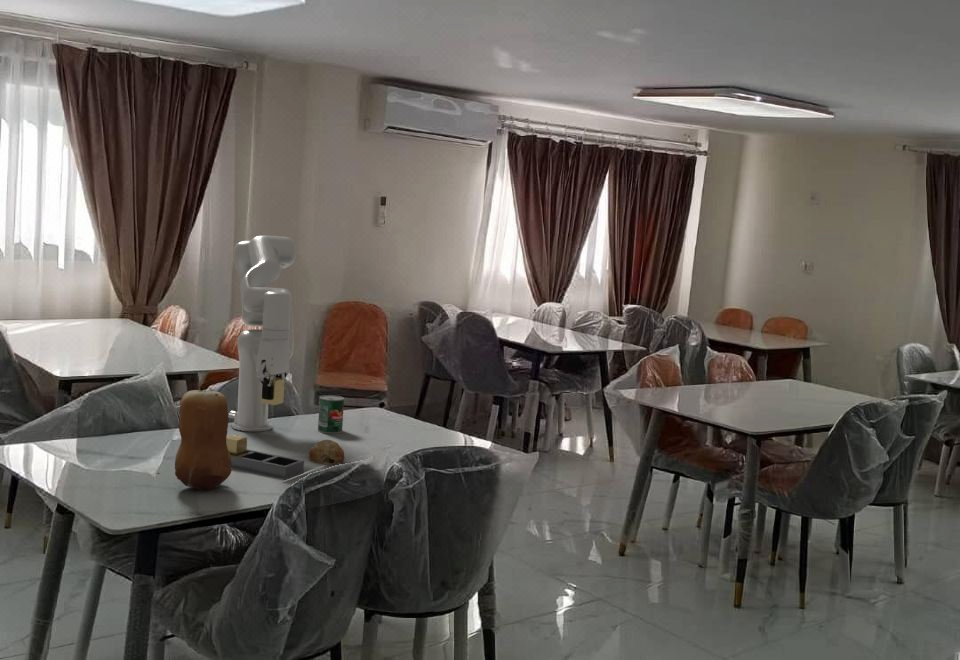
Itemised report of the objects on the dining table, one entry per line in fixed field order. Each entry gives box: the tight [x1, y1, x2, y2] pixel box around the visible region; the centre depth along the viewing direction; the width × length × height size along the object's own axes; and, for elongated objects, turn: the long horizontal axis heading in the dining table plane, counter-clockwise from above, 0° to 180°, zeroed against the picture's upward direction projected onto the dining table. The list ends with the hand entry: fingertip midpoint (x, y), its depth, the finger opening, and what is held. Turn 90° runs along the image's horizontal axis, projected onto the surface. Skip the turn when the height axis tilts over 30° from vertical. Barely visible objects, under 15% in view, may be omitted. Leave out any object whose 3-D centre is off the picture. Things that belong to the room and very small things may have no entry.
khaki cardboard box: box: [226, 434, 248, 456], centre depth 269 cm, size 4×4×7 cm
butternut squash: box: [174, 389, 232, 491], centre depth 244 cm, size 14×13×25 cm
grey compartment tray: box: [230, 448, 305, 481], centre depth 267 cm, size 24×8×4 cm, turn 66°
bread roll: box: [308, 439, 345, 466], centre depth 280 cm, size 10×10×8 cm
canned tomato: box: [317, 394, 345, 435], centre depth 316 cm, size 8×8×11 cm
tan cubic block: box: [261, 376, 286, 406], centre depth 280 cm, size 4×4×7 cm
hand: (272, 397), depth 280 cm, fingers closed on tan cubic block, 4 cm apart
